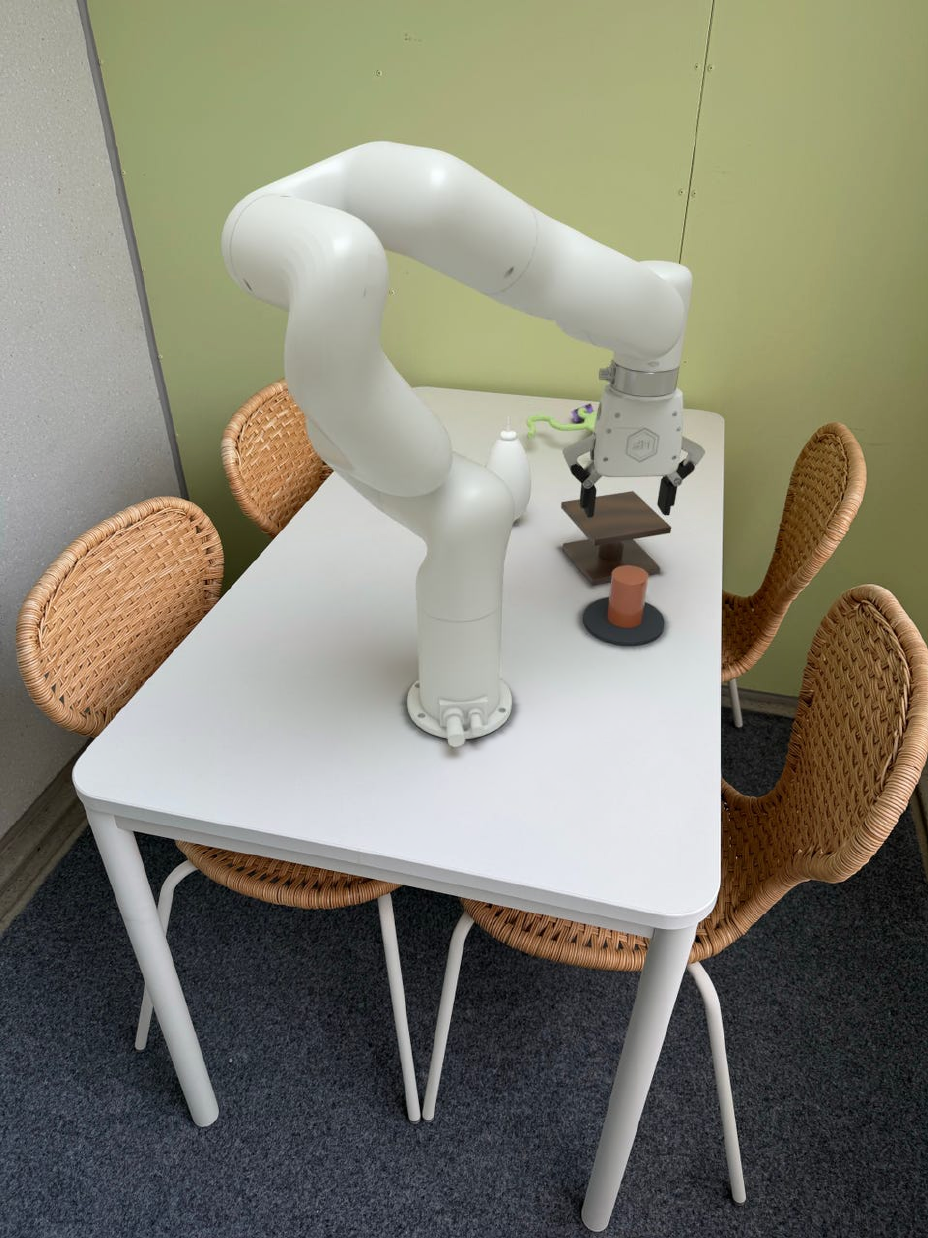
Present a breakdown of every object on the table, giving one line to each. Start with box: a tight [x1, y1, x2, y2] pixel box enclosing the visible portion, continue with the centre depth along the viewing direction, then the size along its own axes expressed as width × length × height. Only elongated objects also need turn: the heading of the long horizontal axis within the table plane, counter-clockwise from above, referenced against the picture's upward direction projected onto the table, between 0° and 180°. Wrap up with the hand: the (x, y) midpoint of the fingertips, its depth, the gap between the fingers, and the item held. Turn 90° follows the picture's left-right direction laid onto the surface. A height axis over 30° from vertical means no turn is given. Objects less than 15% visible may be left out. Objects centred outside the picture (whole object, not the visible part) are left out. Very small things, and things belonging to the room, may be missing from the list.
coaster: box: [582, 596, 666, 647], centre depth 119 cm, size 11×11×1 cm
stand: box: [560, 490, 672, 586], centre depth 130 cm, size 12×12×8 cm
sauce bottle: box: [484, 416, 532, 522], centre depth 137 cm, size 8×8×18 cm
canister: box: [607, 565, 650, 628], centre depth 117 cm, size 5×5×7 cm
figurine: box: [525, 403, 598, 440], centre depth 167 cm, size 18×27×6 cm
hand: (625, 511), depth 109 cm, fingers open, 9 cm apart
